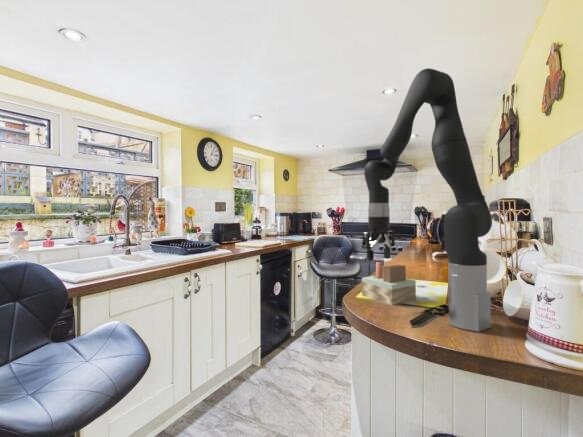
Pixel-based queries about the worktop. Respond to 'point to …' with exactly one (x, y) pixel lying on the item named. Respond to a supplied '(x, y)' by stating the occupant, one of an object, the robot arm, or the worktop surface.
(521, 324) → the worktop surface
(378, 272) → the rounded rod
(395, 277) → the lid
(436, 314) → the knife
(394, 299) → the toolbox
